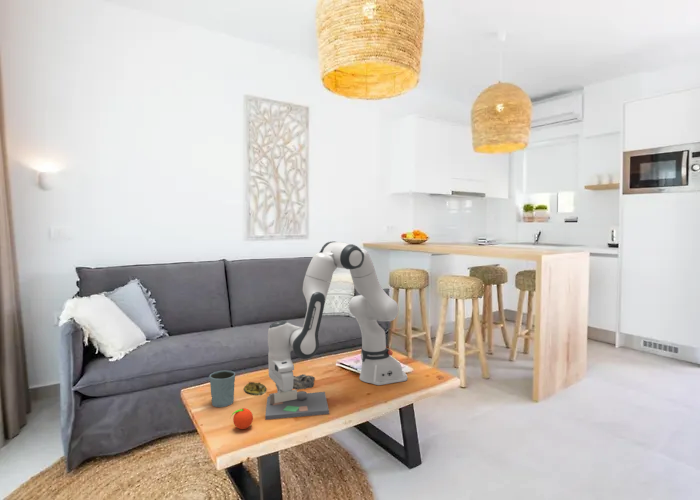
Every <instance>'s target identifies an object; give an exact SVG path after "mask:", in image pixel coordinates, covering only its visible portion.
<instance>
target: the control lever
mask: <svg viewBox="0 0 700 500" xmlns="http://www.w3.org/2000/svg"><path fill="white" fill-rule="evenodd" d="M307 393H308V392H307V391H303V390H299V391H298V390H297V389H292V391H288V392H278V393H277V392H273V393H269V394H268V395H269V396H270V404H274V403H279V402H285V401H290V400H295V399H297V400H305V399H307Z"/></svg>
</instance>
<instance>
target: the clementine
mask: <svg viewBox="0 0 700 500" xmlns="http://www.w3.org/2000/svg"><path fill="white" fill-rule="evenodd" d="M232 416H233V420H232V421H233V424H234V426H235V428H237V429H239V430H246V429H248V428H249V427H250V426H251V425H252V423H253V421H254V415H253V413H252V411H251V410H250V409H248V408H245V407H244V408H239V409H237V410H235V411H234V412H233V413H232V414H231V415H230V418H229V419H231V417H232Z"/></svg>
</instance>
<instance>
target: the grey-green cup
mask: <svg viewBox="0 0 700 500" xmlns="http://www.w3.org/2000/svg"><path fill="white" fill-rule="evenodd" d="M235 381H236V372H234V371H232V370H228V369H227V370H218V371H214V372H213V373H212V372H211V374H209V384H210V385H209V386H210V395H211V396H210V397H211V405H212V406H213V407H215V408H225V407H228V405H229V406H231V405H233V404H234V401H235V398H234V397H235V385H236V384H235Z"/></svg>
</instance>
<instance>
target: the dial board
mask: <svg viewBox="0 0 700 500" xmlns="http://www.w3.org/2000/svg"><path fill="white" fill-rule="evenodd" d="M266 397H267V398H266V406H265V415H264V419H265V420H266V421H267V420H276V419H288V418H289V419H291V418H297V417H298V418H300V417H311V416H321V415H322V416H323V415H330V410H329V409H330V408H329V405H328V401H327V400H328V399H327V396H326V392H325V391H317V392H307V399H305V400H297V399H295V400H290V401H285V402H279V403H274V404H270V396H266Z"/></svg>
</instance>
